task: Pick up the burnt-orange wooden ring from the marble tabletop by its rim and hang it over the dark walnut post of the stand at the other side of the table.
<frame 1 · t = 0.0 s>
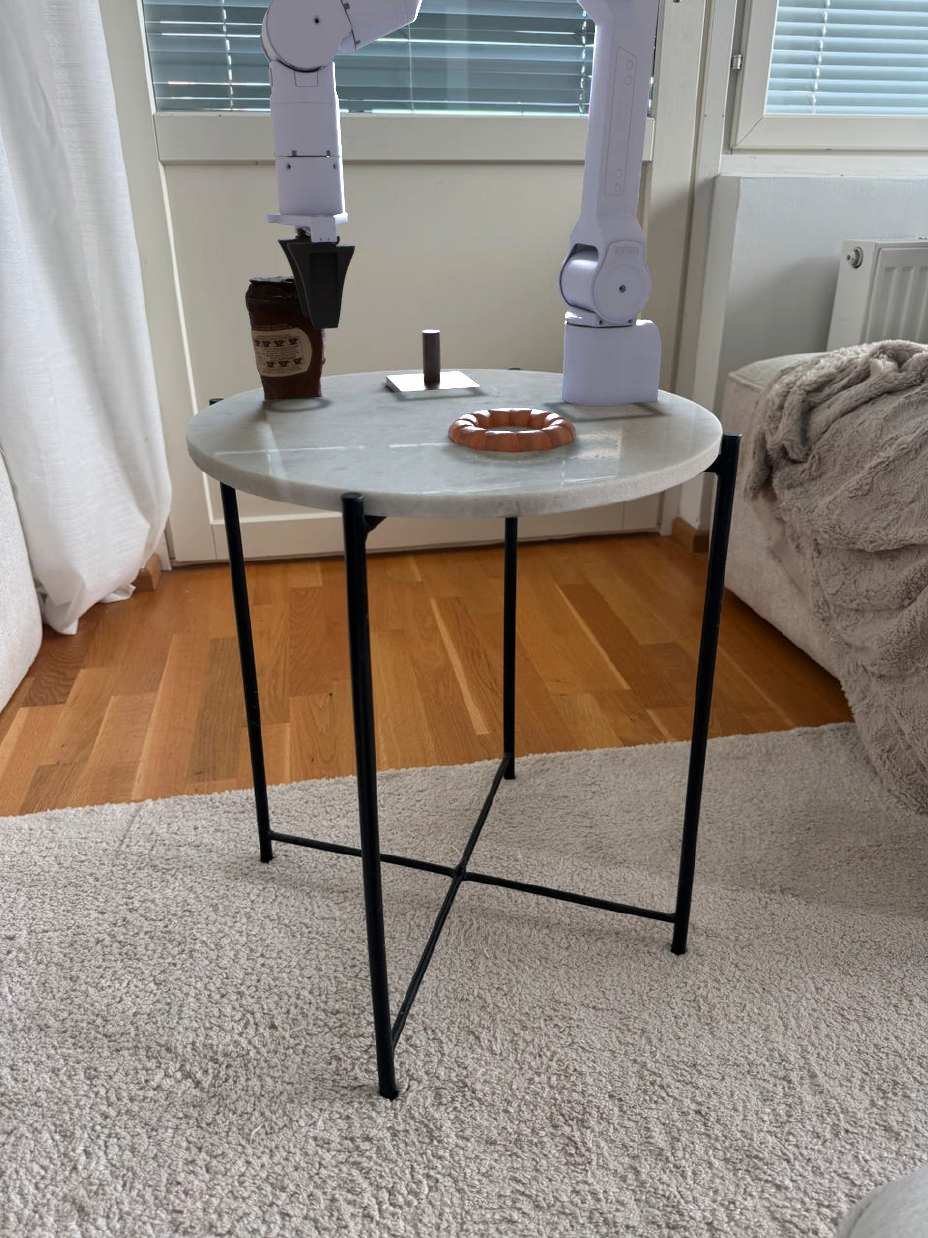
hand: (320, 322, 85), 10 cm above the table, tool pointing down, fingers open, 7 cm apart
ring: (511, 434, 82), point 1 cm above the table
stand: (432, 389, 105), on the table
coffee cup: (295, 406, 99), on the table
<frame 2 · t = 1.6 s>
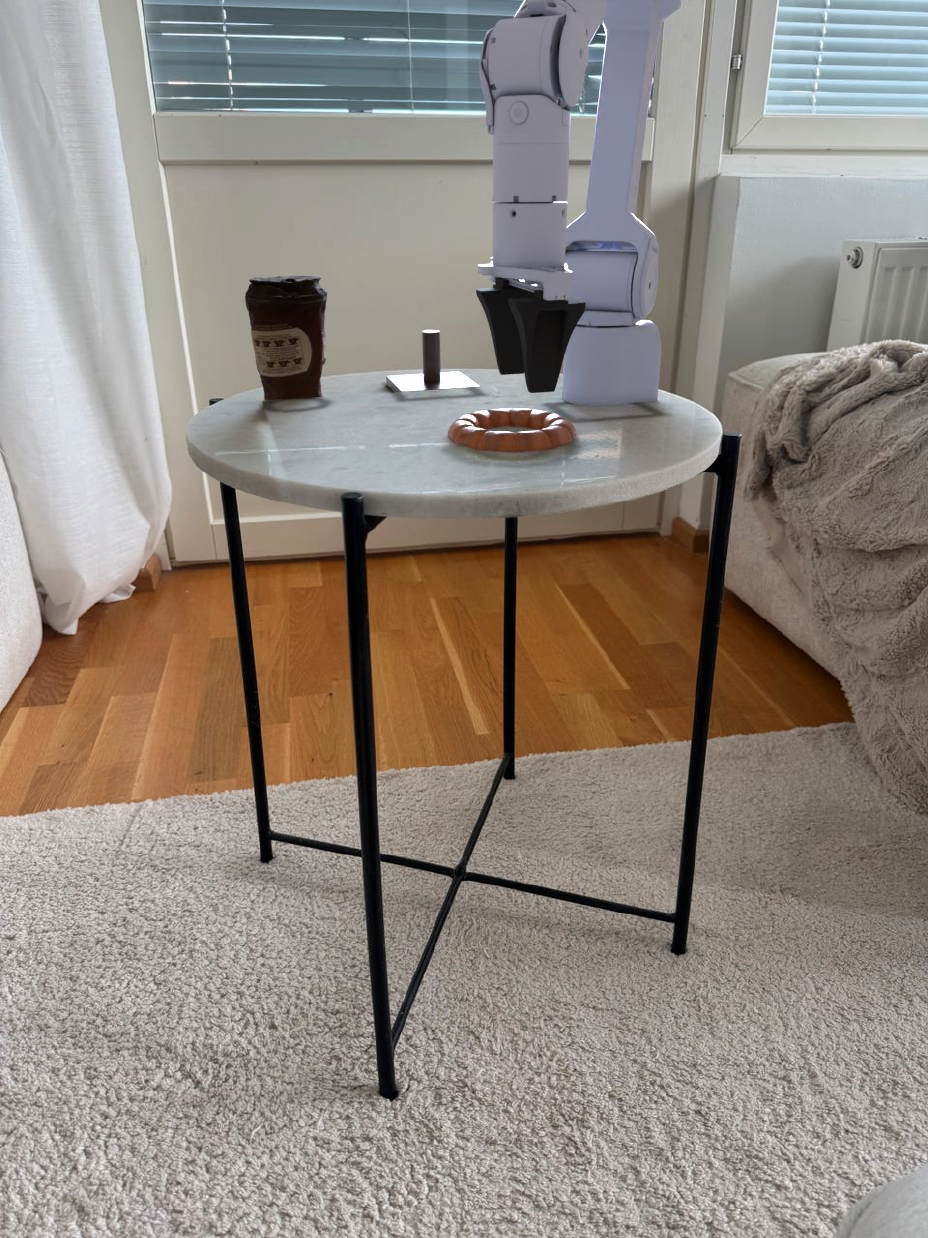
hand: (525, 382, 76), 7 cm above the table, tool pointing down, fingers open, 7 cm apart
nothing on the table moved.
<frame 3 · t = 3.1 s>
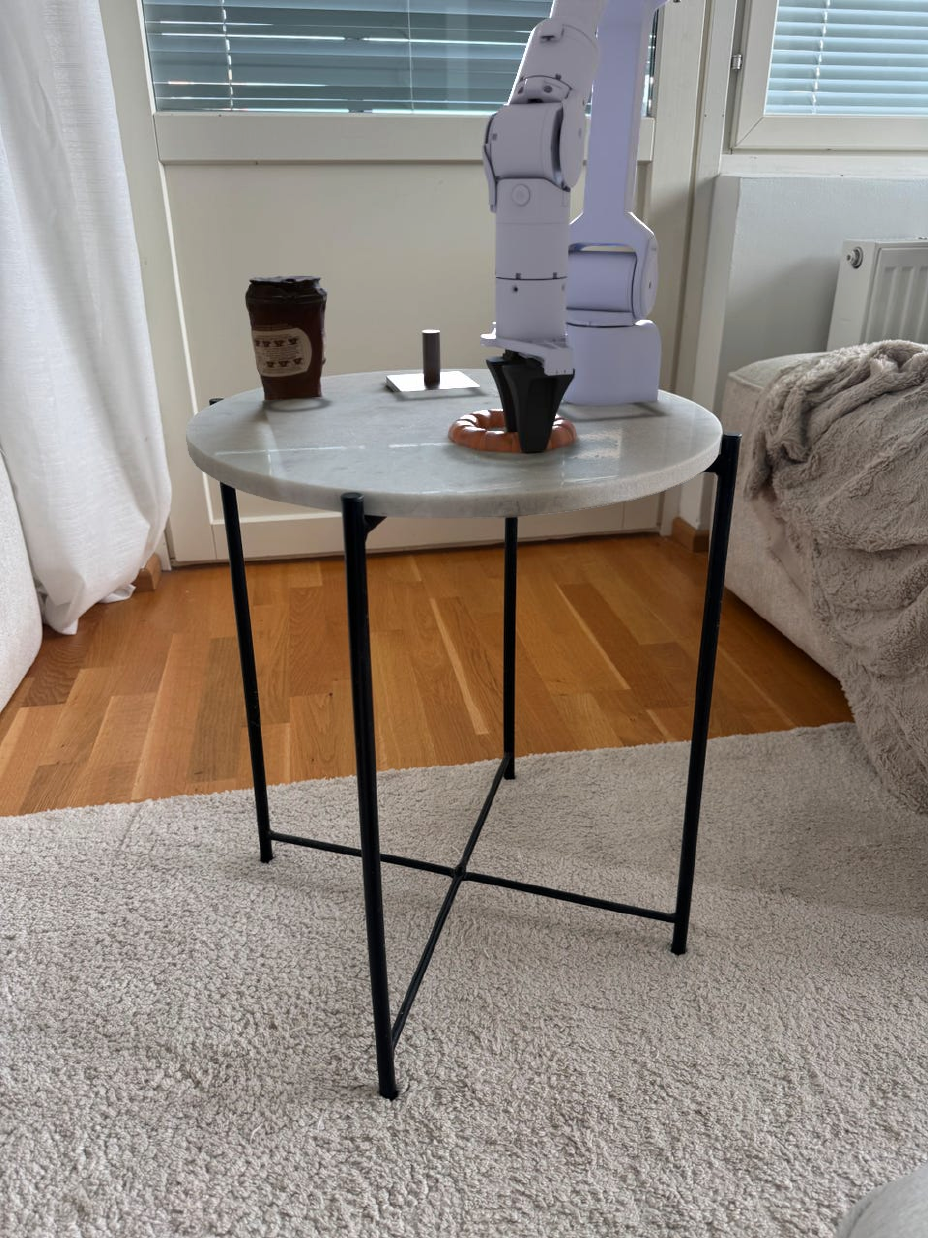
hand: (527, 445, 78), 1 cm above the table, tool pointing down, fingers closed on ring, 3 cm apart
ring: (512, 434, 82), point 1 cm above the table, touching gripper
everything else where it was.
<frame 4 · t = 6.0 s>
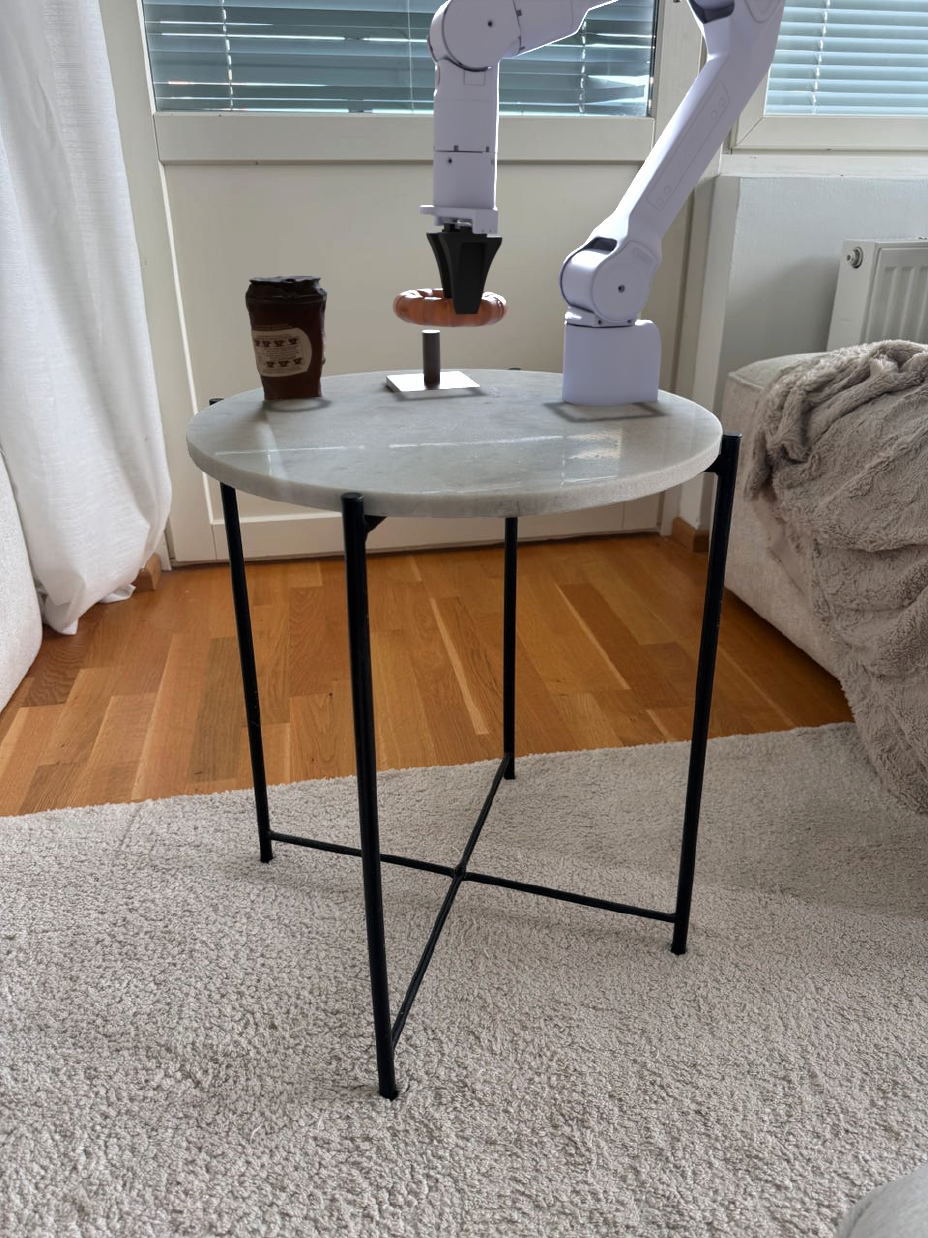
hand: (461, 311, 88), 10 cm above the table, tool pointing down, fingers closed on ring, 3 cm apart
ring: (450, 307, 92), point 10 cm above the table, touching gripper
everything else where it was.
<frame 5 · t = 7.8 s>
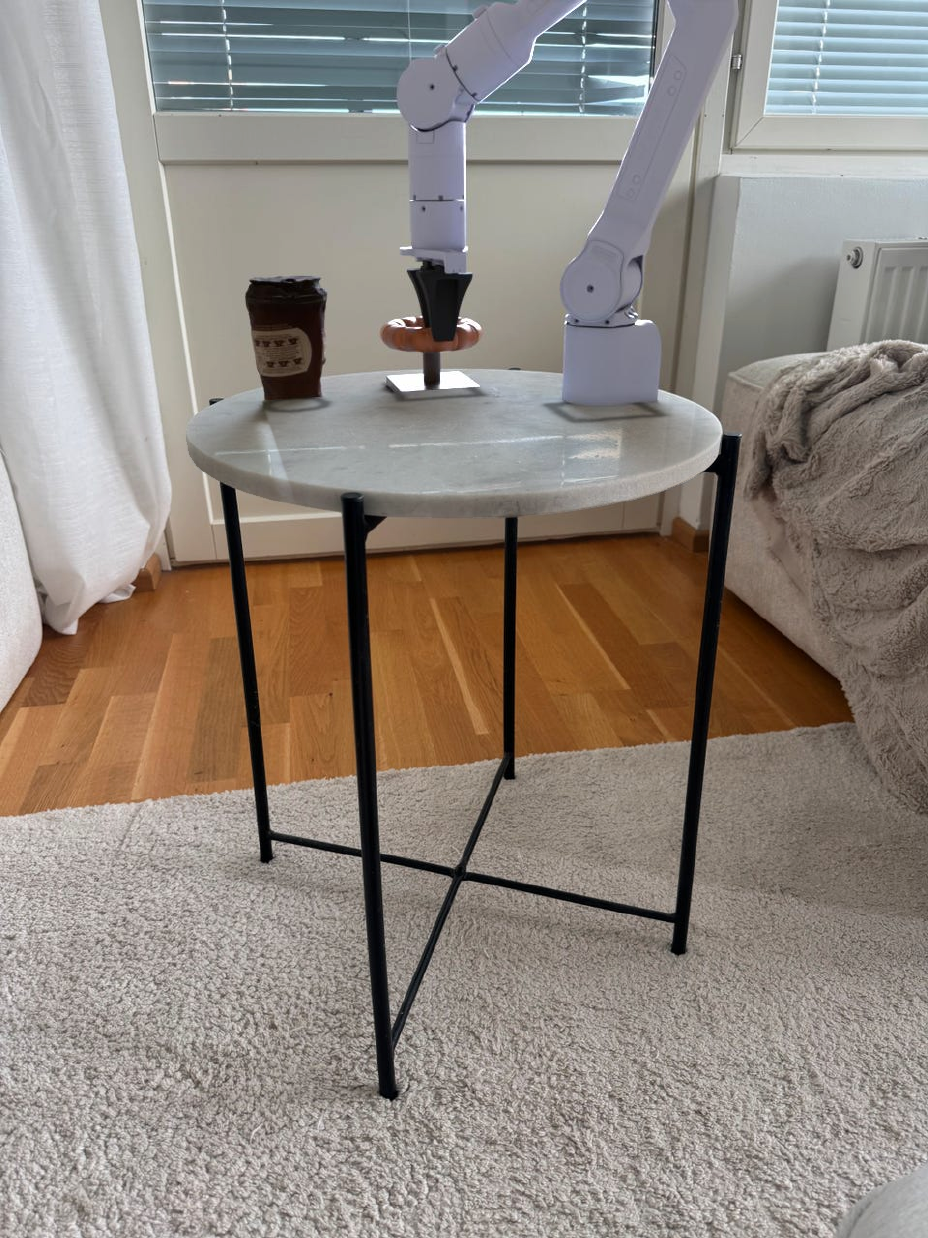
hand: (440, 338, 99), 6 cm above the table, tool pointing down, fingers closed on ring, 3 cm apart
ring: (430, 333, 103), point 6 cm above the table, touching gripper
everything else where it was.
when the fingers open (2 cm above the table, at t = 9.1 s): ring stays where it is, resting on stand.
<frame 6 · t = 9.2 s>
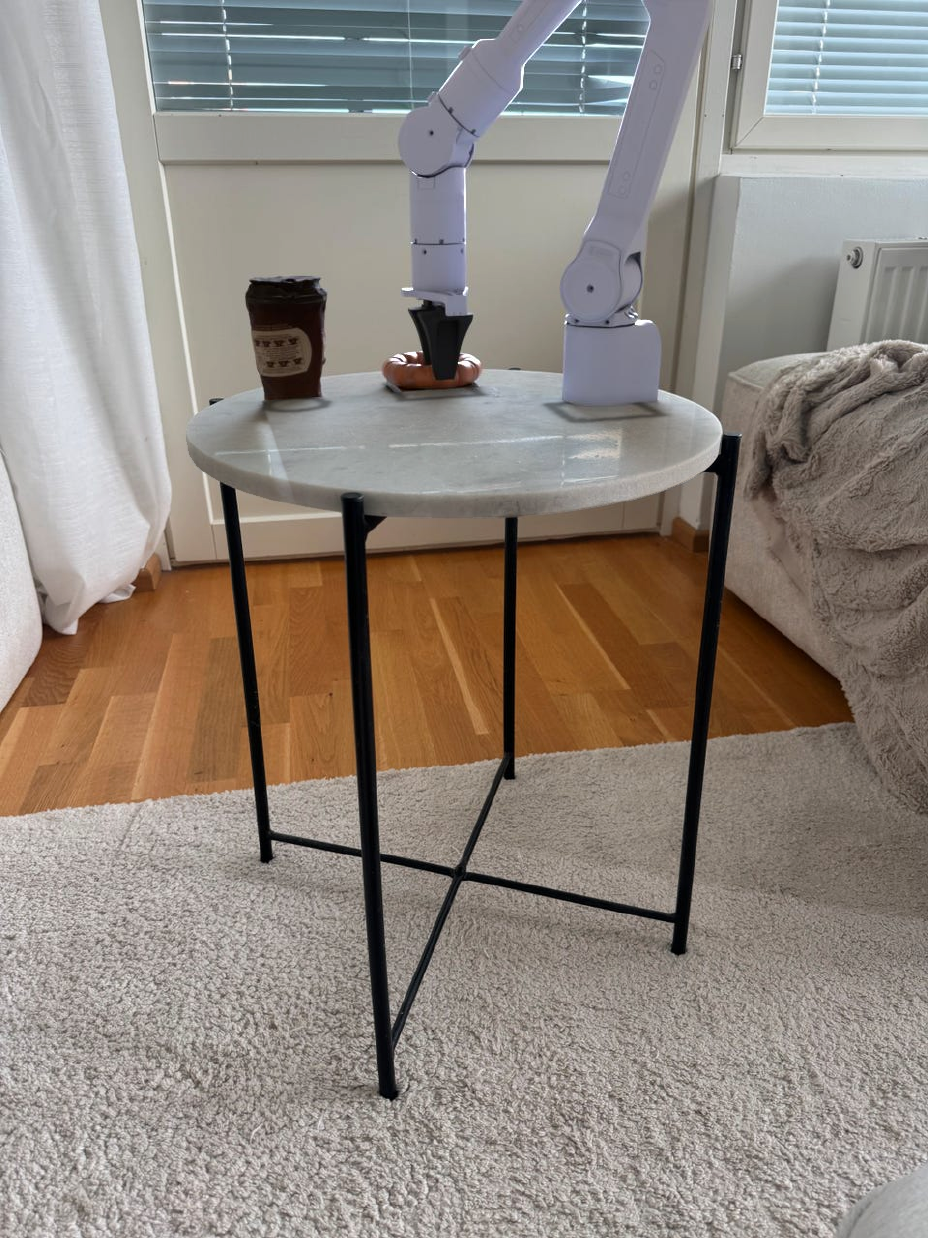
hand: (440, 376, 101), 2 cm above the table, tool pointing down, fingers open, 3 cm apart
ring: (431, 369, 104), point 2 cm above the table, touching stand
everything else where it was.
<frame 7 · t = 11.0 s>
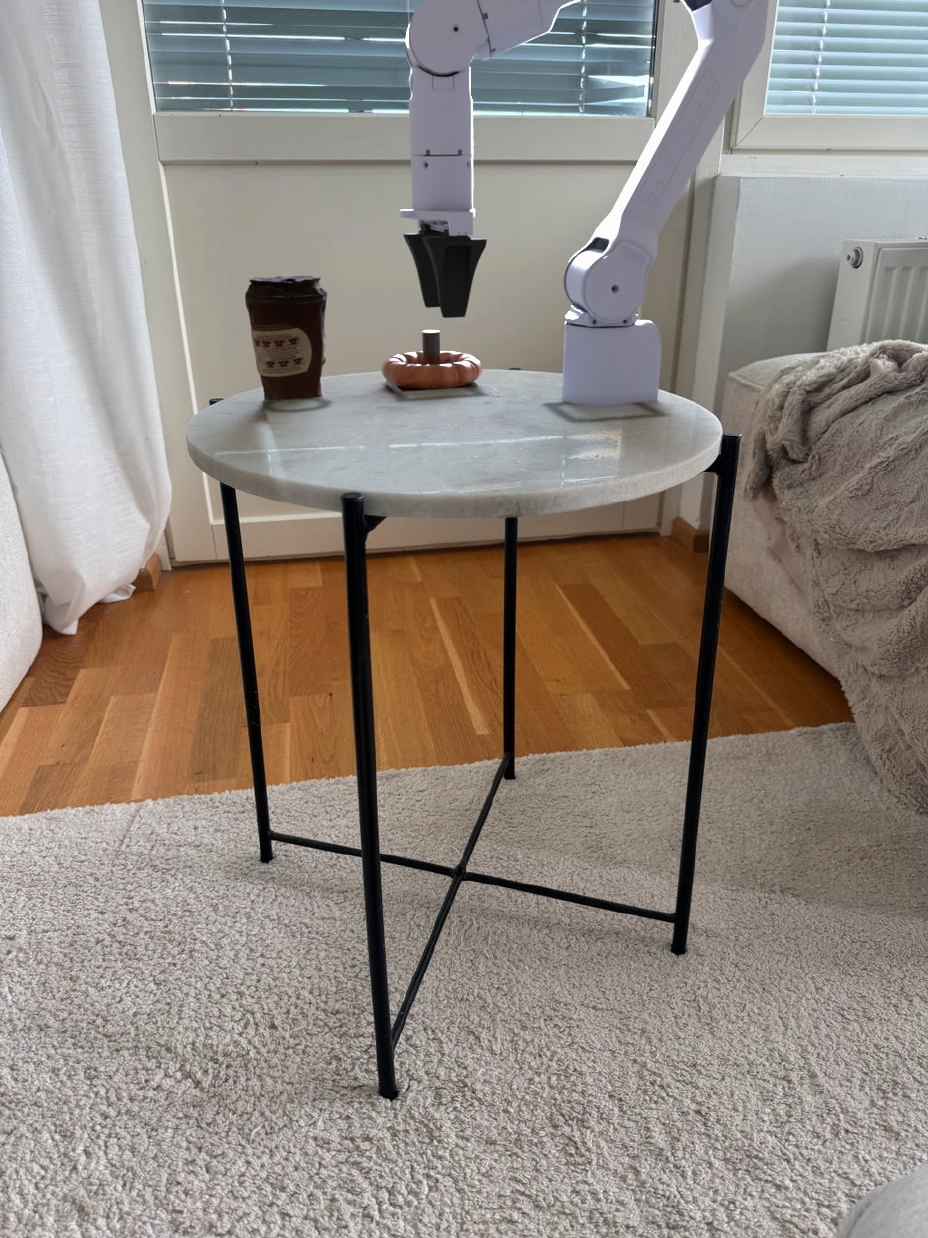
hand: (444, 311, 90), 10 cm above the table, tool pointing down, fingers open, 7 cm apart
nothing on the table moved.
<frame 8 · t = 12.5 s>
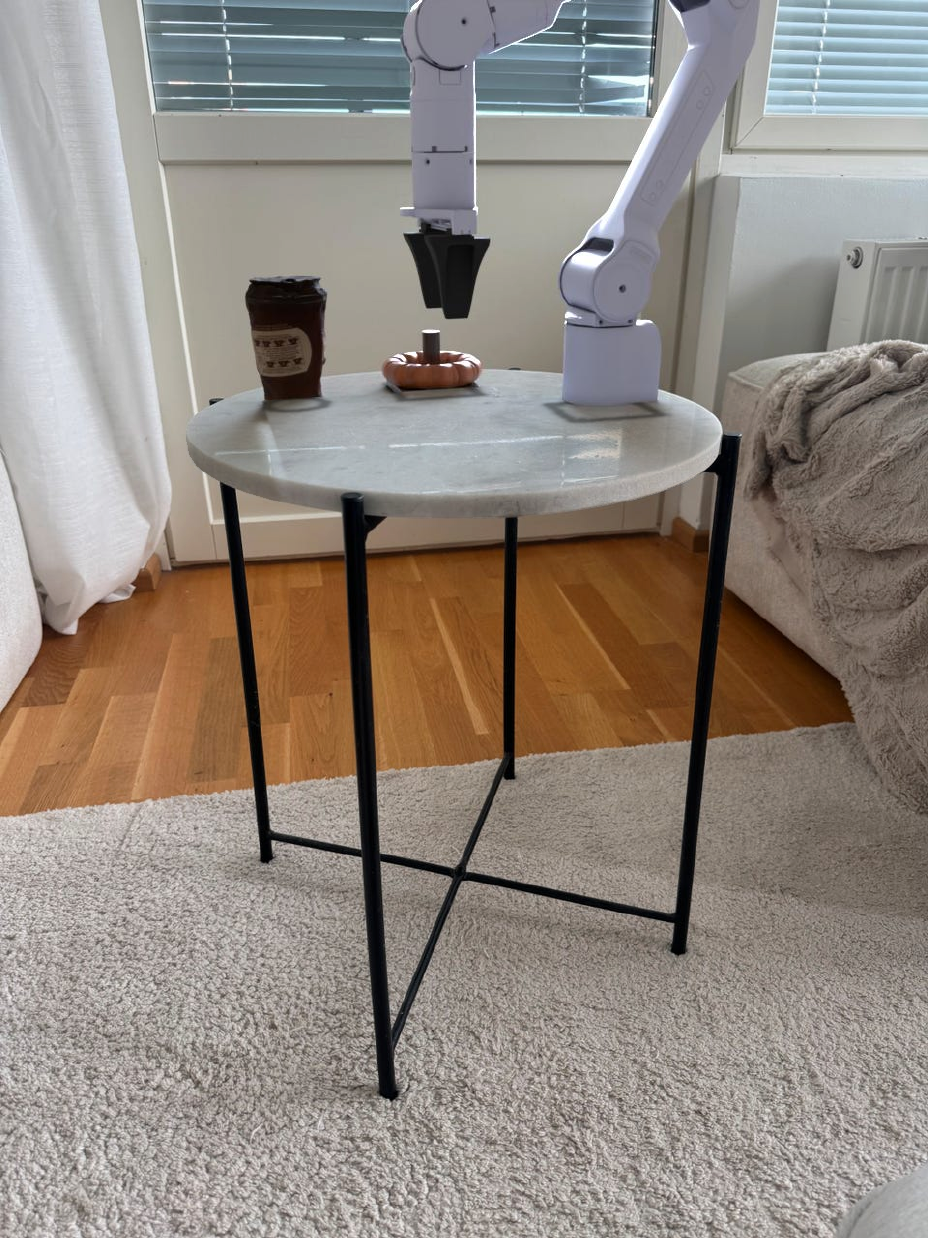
hand: (446, 312, 87), 10 cm above the table, tool pointing down, fingers open, 7 cm apart
nothing on the table moved.
at the end: ring 0.1 cm from the stand (horizontally); ring point 2.3 cm above the table; the gripper is holding nothing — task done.
